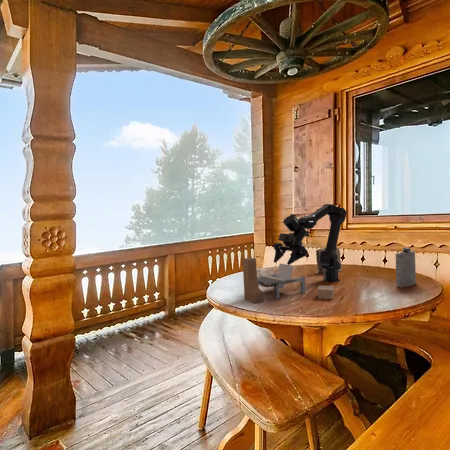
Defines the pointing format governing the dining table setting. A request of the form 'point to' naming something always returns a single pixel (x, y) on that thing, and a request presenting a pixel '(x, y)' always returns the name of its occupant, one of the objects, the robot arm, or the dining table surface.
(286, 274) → the gray rectangular block
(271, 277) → the trapdoor
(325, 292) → the stand
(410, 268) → the flask
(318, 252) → the mineral sample
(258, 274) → the rock fragment
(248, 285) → the wooden block
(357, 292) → the dining table surface
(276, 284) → the frame
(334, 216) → the robot arm
